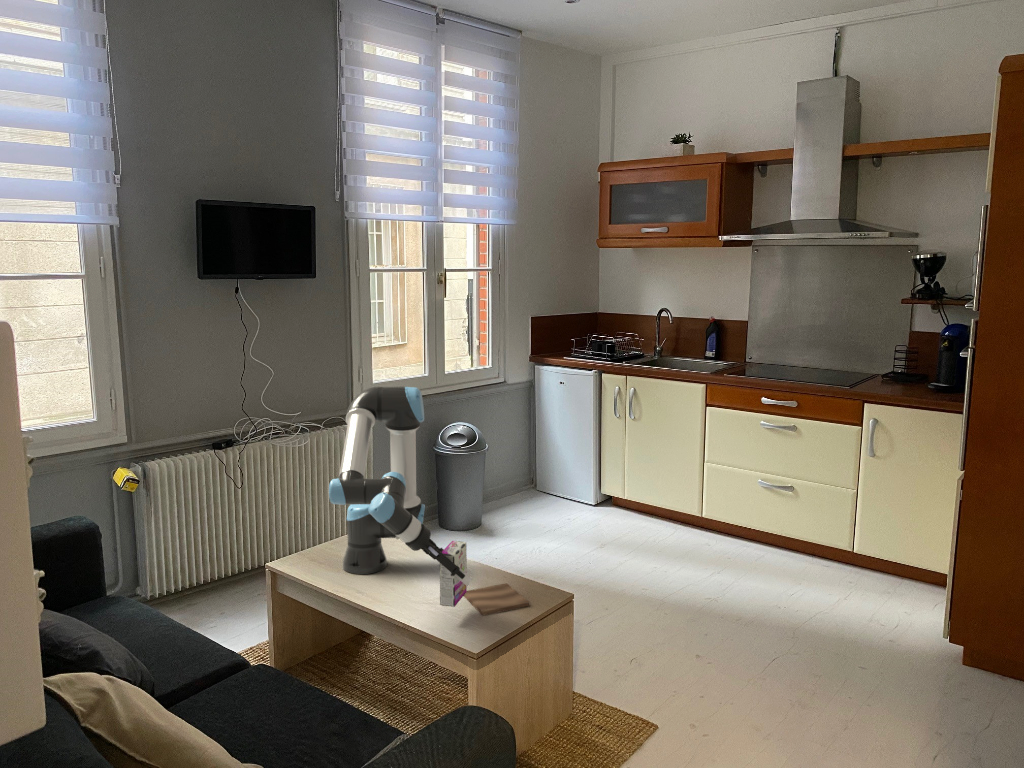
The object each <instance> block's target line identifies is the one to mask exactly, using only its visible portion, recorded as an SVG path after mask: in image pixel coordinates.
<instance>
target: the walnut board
mask: <svg viewBox="0 0 1024 768" xmlns="http://www.w3.org/2000/svg"><path fill="white" fill-rule="evenodd" d="M463 598H465V599H466V601H467V602H468V603H470V605H472V606H473V607H474V608H475V609H476V611H478V612H479V614H481V615H482V616H487V615H492V614H496V613H502V612H506V611H511V609H512V610H516V608H517V609H520V608H519V607H522V608H526V607H525V606H527V607H530V602H529V601H528V600H527V599H526V598H525V597H524V596H522V595H521V593H519V592H518V590H515V589H514V588H513V587H512V586H511V585H510V584H509V583H500V584H497V585H491V586H485V587H484V586H483V587H478V588H475V589H469V590H468V589H467V592H466V593H465V595H464V596H463Z"/></svg>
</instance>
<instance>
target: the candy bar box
mask: <svg viewBox="0 0 1024 768" xmlns="http://www.w3.org/2000/svg"><path fill="white" fill-rule="evenodd" d="M443 549H444V550H443V551H442V553H443V554H444V555H445V556H446V557H447V558H448V559H450V560H451V561H452V562H453V563H454V564H455V565H456V566H458V567H460V568H461V569H462V570H463V571H464V572H466V573H467V574H468V572H467V571H468V570H467V568H468V567H467V542H466V541H462V540H461V541H460V540H459V541H457V540H452V541H450V543H449V544H448V545H447V546H446V547H445V548H443ZM451 574H452V573H451V572H450V571H449V570H448V569H446V568H445V567H444V566H443V565H442V564H441V563H440V562H439V605H441V606H443V607H444V606H445V607H452V608H455V607H457V605H458V603H459V602H460V601H461V600H462V598H464V595H465V593H466V592H467V591H468V588H467V586H466V585H465V584H464V583H463V582H461V581H460V580H459V579H458V578H457V577H456V576H454V575H453V576H451Z"/></svg>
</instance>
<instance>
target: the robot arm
mask: <svg viewBox="0 0 1024 768" xmlns="http://www.w3.org/2000/svg"><path fill="white" fill-rule="evenodd" d="M424 407H425V406H424V399H423V395H422V392H421V389H419V388H418V387H416V386H414V387H413V386H372V387H368V388H366V389H364V390H363V391H361V392H360V393H358V394H357V395H356V396H355V397H354V399H352V401H351V402H350V404H349V405H348V408H347V410H346V415H345V423H346V425H347V426H346V432H345V438H344V445H343V451H342V456H341V462H340V468H339V475H338V478H333V479H331V480H330V482H329V485H328V497H329V503H331V504H333V505H342V506H343V505H345V506H346V505H349V506H348V508H347V512H346V514H347V515H346V524H347V526H346V529H347V530H346V531H347V532H346V533H347V546H346V550H345V552H344V553H345V554H344V557H343V560H342V570H344V571H345V572H347V573H350V574H354V575H369V574H374V573H378V572H381V571H383V570H384V569H386V567H387V566H388V563H387V562H388V561H387V557H386V553H385V550H384V547H383V545H382V539H395V540H396V541H397V540H400V541H402V542H403V543H404V545H406V546H407V547H408V548H409V549H410V550H412V551H414V552H415V551H416V552H418V551H420V550H422V552H424V553H425V554H426V555H428V556H430V557H431V559H433V560H436V561H437V562H438V563H439V564H440V563H441V564H442V565H443V566H444V567H445V568H446V569H448V570H449V571H450V572H451V573H452V574H451V576H453V575H454V576H456V577H457V578H458V579H459V580H460V581H461V582H463V583H464V584H465V585H466V586H468V585H469V584H470V583H471V582H472V581H473V580H474V579H473V578H472V576H471V575H469V574H468V572H467V573H466V572H464V571H463V570H462V569H461V568H460V567H458V566H456V565H455V564H454V563H453V562H452V561H451V560H450V559H448V558H447V557H446V556H445V555H444V554H443V553H442V551H443V550H444V549H445V548H443V547H439V546H438V545H437V544H436V542H434V540H432V539H431V535H432V533H431V530H430V529H429V527H427V526H426V525H425V524H423V523H424V518H425V517H424V516H425V511H426V509H425V508H426V505H425V504H423V503H422V500H421V498H420V496H419V495H417V457H416V456H417V448H416V447H417V443H416V441H417V439H416V436H417V433H416V432H417V430H418V429H420V427H421V423H423V422H424V421H425V408H424ZM376 422H384V423H385V429H387V431H389V435H390V436H389V439H390V440H389V441H390V442H389V444H390V445H389V447H390V451H389V452H390V453H389V454H390V472H386V473H384V474H383V475H382V477H381V478H365V475H366V469H367V462H368V455H369V447H370V439H371V434H372V428H373V427H374V426H375V424H376Z"/></svg>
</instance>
